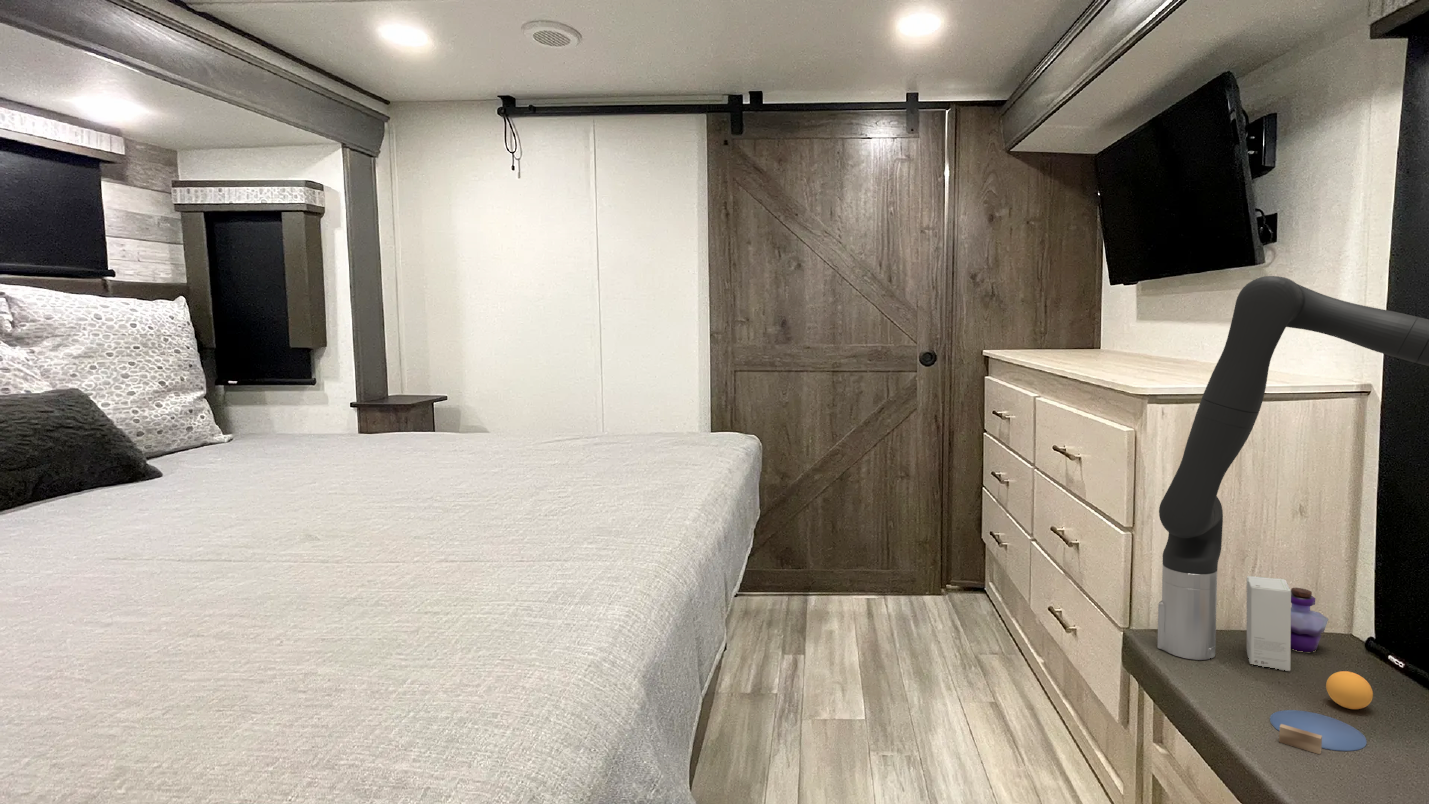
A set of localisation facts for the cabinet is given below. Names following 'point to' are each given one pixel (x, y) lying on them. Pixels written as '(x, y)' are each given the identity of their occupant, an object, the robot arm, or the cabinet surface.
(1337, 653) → the cabinet surface
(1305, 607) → the potion bottle
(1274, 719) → the disc
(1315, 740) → the wall
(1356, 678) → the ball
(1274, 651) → the skincare box
